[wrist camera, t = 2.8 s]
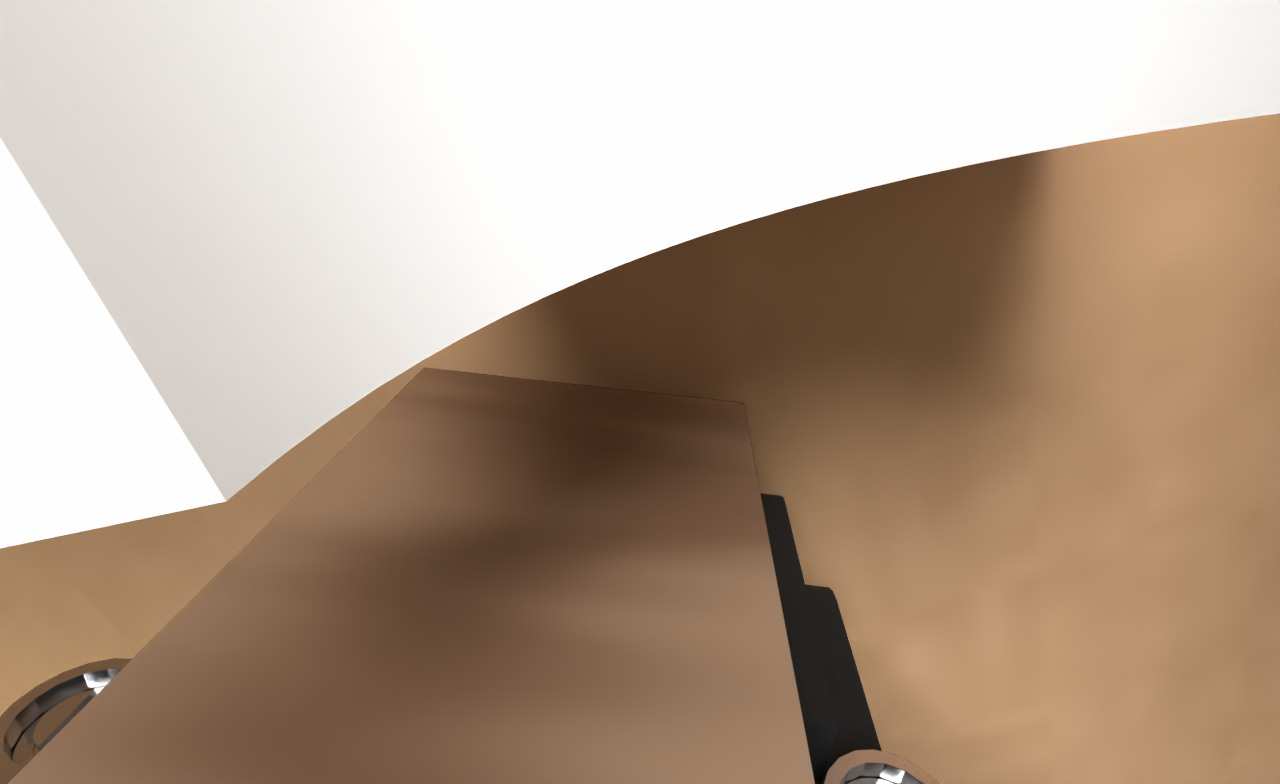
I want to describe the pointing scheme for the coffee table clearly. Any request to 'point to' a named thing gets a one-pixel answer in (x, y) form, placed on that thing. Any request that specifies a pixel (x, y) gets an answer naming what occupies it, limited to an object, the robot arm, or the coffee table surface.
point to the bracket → (464, 183)
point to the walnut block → (479, 611)
